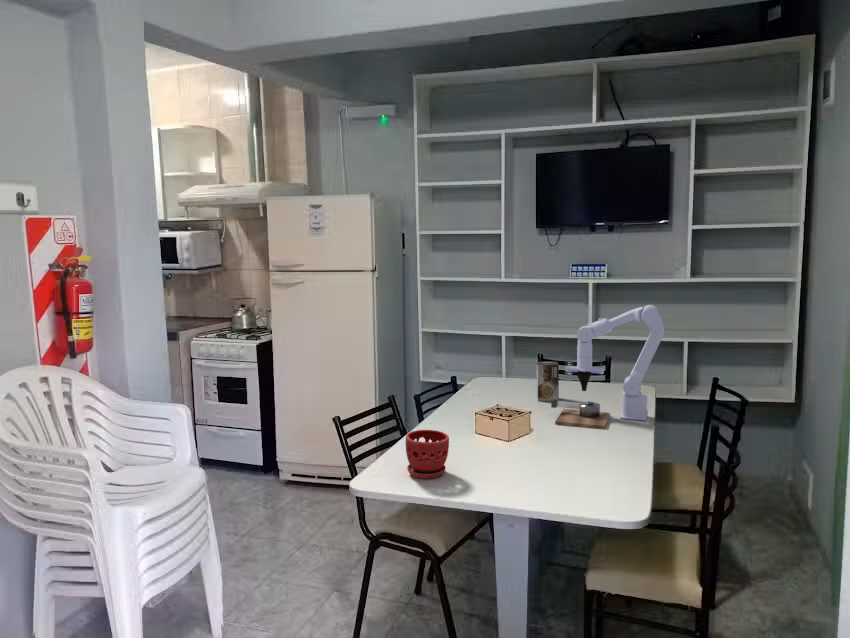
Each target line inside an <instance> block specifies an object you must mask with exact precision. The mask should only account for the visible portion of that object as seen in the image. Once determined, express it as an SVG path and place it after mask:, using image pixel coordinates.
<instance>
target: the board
mask: <svg viewBox="0 0 850 638" xmlns="http://www.w3.org/2000/svg"><path fill="white" fill-rule="evenodd" d="M610 415H611V413H610V412H608V411H607V412H605V411H600V416H598V417H584V416H581V415H580V409H573V408H563V409H562V410H561V412H560V413H559V415H558V416H557V418H556V419H555V420H554V422H555V423H554V425H558V426H569V427H579V428H591V429H597V430H599V429H600V430H605V428H606V427H607V423H608V422H609V419H610Z"/></svg>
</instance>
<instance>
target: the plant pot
mask: <svg viewBox="0 0 850 638" xmlns="http://www.w3.org/2000/svg"><path fill="white" fill-rule="evenodd" d="M421 438H423V439H424V441H420V439H421ZM430 440H431V441H430ZM449 446H450V437H449V435H448V434H447V433H445V432H443V431H440V430H434V429H418V430H413V431H410V432H408V433H407V434H406V435H405V453H406V458H407V461H408V465H407V466H406V470H407V472H408V473H409V474H410V475H412V476H413V477H415V478H419V479H434V478H438V477H440V476H442V475H443V474H444V473H445V471H446V466H445V463H446V461H447V458H448V455H449Z"/></svg>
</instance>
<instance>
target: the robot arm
mask: <svg viewBox="0 0 850 638" xmlns="http://www.w3.org/2000/svg"><path fill="white" fill-rule="evenodd" d="M641 320H642V321H643V323H644V324H646V326H647V328H648V330H649V332H650V333H649V335H648V336H647V339H646V341H645V343H644V346H643V348H642V350H641V351H640V354H639V356H638V358H637V360H636V362H635V364H634V366H633V368H632V370H631V372H630V374H629V375H627V376H626V377H625V378H624V381H623V388H622V389H623V391H622V394H621V396H622V400H621V413H620V416H619V418H620V419H622V420H623V419H626V420H635V421H646V420H647V418H648V414H649V413H648V411H649V410H648V395H643V394H642V392H641V390H642V387H641V386H642V382H643V381H644V380H643V379H644V377H645V374H646V372H647V370H648V368H649V366H650V364H651V362H652V360H653V358H654V356H655V354H656V352H657V350H658V347H659V346H660V343H661V341H662V340H663V337H664V335H665V328H664V323H663V319H662V314H661V312H660V310H659V308H657V307H656V305H653V304H647V305H645V306H640V307H637V308H634V309H633V308H632V309H631V310H628V311H626V312H624V313H621V314H620V315H618V316H615V317H612V318H611V319H608V318H607V317H606V318H605V317H600V318H598V319H597V320H596V321H594V322H592V323H589V322H588V323H586V325H583V326H581V327H580V328H579V329H578V330H577V333H576V337H577V346H576V348H577V350H576V351H577V353H576V356H577V359H576V361H577V362H576V365H572V366H571V365H569V366H567V365H566V366H565V373H569V372H571V373H576V377H577V378H578V380H579V382H580V386H581V391H582V392H587V390H588V389H587V388H588V384H589V381H590V378H591V376H592V375H593V374H598V375H599V374H600V375H604V373H605V370H604V369H605V368H603V367H596V366H593V343H592V342H593V338H598V337H602V336H604V335H606V334H608V333H610V332H611V331H613V328H614V327H618V326H620V325H623V324H626V323H628V322H631V321H636V322H641Z"/></svg>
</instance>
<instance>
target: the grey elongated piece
mask: <svg viewBox="0 0 850 638" xmlns="http://www.w3.org/2000/svg"><path fill="white" fill-rule="evenodd" d="M550 402H551V403H550V405H551V407H550V408H553V409H556V408H563V409H572V410H580V415H581V416H584V417H598V416H600V412H601V405H600V403H598V402H595V401H583V402H573V401H562V400H560V399H559V400H555V399H554V400H553V401H550Z"/></svg>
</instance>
